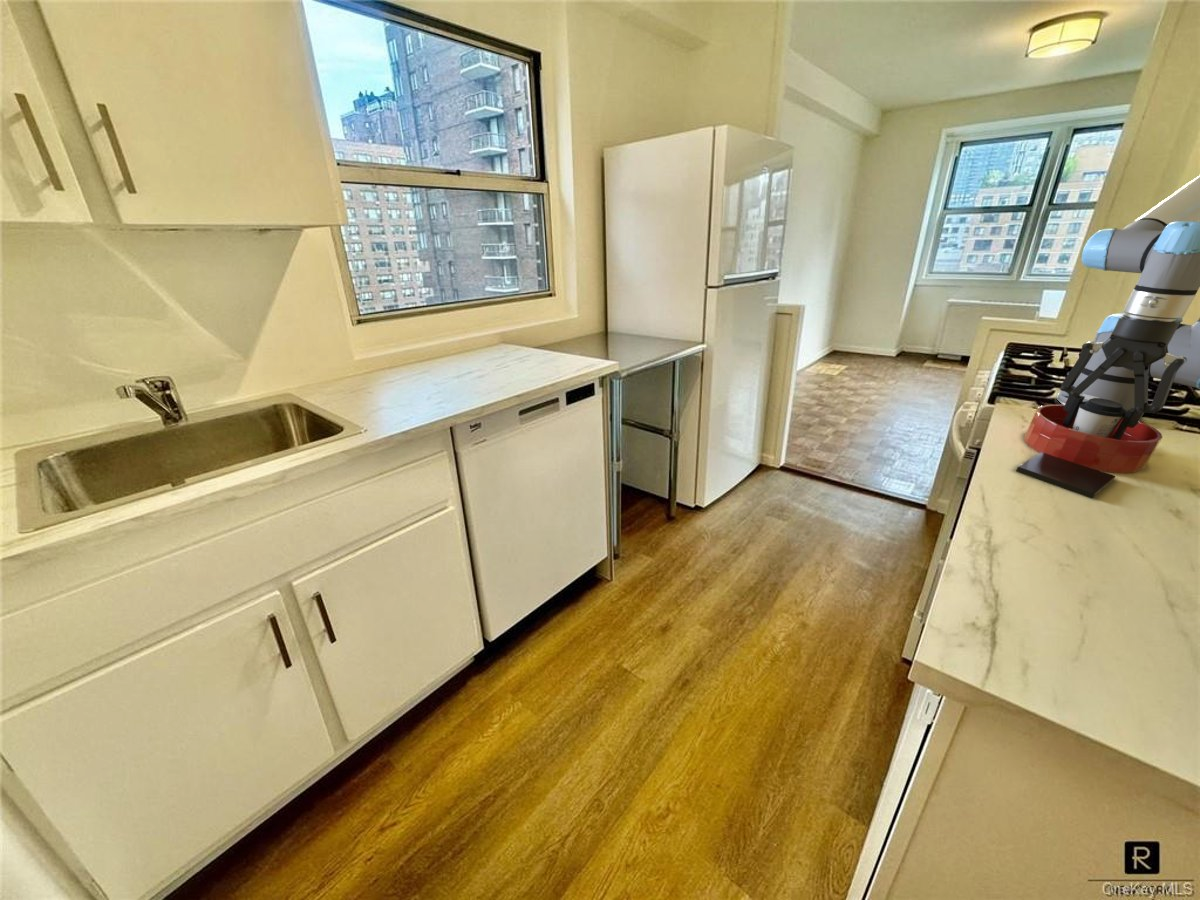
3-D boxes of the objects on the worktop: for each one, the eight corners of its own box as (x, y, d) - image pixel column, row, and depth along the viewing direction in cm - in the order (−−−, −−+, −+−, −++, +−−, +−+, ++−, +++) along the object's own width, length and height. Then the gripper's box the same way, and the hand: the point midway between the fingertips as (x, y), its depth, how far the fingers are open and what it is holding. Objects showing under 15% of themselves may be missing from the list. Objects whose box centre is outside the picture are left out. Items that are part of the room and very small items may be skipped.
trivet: (1039, 456, 95) (1041, 452, 95) (1113, 480, 87) (1116, 475, 87) (1015, 471, 90) (1017, 466, 90) (1092, 498, 82) (1095, 493, 81)
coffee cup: (1109, 460, 93) (1136, 412, 89) (1063, 451, 97) (1086, 404, 92) (1100, 446, 99) (1124, 400, 94) (1056, 438, 102) (1078, 394, 97)
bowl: (1043, 425, 109) (1056, 398, 106) (1156, 457, 96) (1174, 427, 93) (1009, 444, 100) (1021, 415, 97) (1127, 482, 87) (1146, 450, 84)
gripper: (1071, 309, 91) (1022, 420, 102) (1230, 330, 76) (1153, 458, 87) (1085, 305, 95) (1036, 413, 105) (1240, 325, 80) (1165, 448, 91)
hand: (1089, 433), depth 96 cm, fingers closed on coffee cup, 7 cm apart
